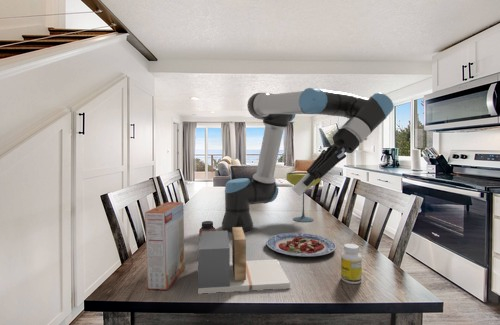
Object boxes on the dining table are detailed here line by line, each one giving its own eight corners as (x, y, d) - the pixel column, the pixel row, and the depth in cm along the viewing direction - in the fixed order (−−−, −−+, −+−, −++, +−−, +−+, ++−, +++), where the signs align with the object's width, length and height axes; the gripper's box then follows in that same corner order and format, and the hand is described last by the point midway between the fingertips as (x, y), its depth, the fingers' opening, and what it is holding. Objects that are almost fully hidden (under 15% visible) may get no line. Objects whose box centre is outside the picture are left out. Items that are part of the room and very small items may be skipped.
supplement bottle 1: (218, 251, 99) (218, 220, 99) (211, 257, 93) (211, 224, 93) (204, 249, 101) (204, 219, 101) (196, 255, 95) (195, 223, 95)
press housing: (277, 263, 88) (277, 228, 87) (290, 288, 72) (290, 245, 71) (201, 267, 85) (201, 231, 84) (198, 294, 69) (198, 249, 69)
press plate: (241, 262, 84) (241, 227, 84) (245, 280, 72) (245, 239, 72) (232, 262, 84) (232, 227, 84) (234, 280, 72) (234, 239, 72)
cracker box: (166, 267, 85) (166, 201, 84) (185, 268, 84) (184, 201, 84) (145, 290, 71) (144, 211, 70) (167, 291, 70) (166, 211, 70)
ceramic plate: (292, 234, 121) (292, 227, 121) (348, 248, 103) (348, 240, 103) (252, 248, 103) (252, 240, 103) (310, 269, 85) (310, 259, 84)
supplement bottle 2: (337, 276, 79) (338, 242, 79) (355, 275, 80) (356, 242, 79) (346, 285, 74) (346, 249, 73) (365, 284, 74) (365, 248, 74)
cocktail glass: (320, 216, 153) (320, 172, 152) (321, 224, 135) (321, 175, 135) (287, 215, 157) (288, 172, 156) (284, 222, 139) (284, 174, 139)
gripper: (370, 144, 75) (311, 205, 74) (348, 145, 88) (298, 197, 87) (352, 125, 75) (293, 186, 73) (333, 128, 88) (282, 180, 86)
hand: (296, 192), depth 80 cm, fingers closed
